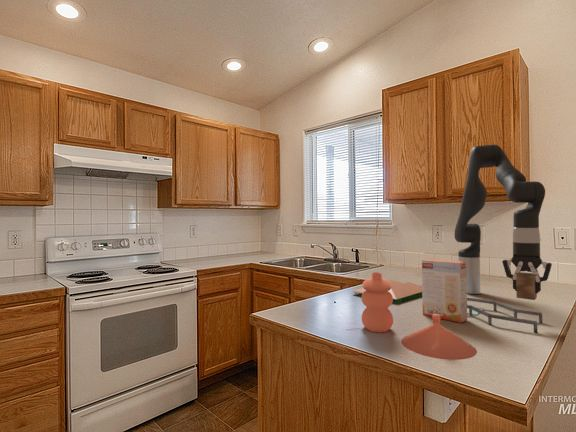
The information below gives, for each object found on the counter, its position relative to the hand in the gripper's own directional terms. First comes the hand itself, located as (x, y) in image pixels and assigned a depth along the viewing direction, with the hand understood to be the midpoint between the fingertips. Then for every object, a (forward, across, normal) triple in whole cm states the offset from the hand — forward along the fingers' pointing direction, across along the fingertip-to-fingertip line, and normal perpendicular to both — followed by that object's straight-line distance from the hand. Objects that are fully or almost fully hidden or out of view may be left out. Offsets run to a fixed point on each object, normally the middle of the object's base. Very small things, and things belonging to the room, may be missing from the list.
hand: (526, 291), depth 116 cm
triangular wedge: (+12, -54, +12) cm, 57 cm away
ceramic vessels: (+11, -23, -38) cm, 46 cm away
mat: (+11, -21, +8) cm, 25 cm away
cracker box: (+12, -24, -8) cm, 28 cm away
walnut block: (+2, 0, 0) cm, 2 cm away
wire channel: (+11, -12, +4) cm, 17 cm away
